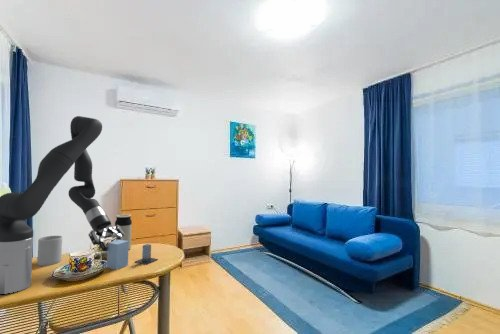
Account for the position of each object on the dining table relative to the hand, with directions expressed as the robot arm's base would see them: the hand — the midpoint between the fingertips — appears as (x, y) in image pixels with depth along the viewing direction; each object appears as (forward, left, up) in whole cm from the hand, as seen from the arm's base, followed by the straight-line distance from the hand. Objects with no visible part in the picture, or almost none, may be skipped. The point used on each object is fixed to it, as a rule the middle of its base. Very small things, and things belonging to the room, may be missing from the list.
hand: (115, 247), depth 110 cm
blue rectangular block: (0, -2, -8) cm, 8 cm away
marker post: (+9, -10, -8) cm, 15 cm away
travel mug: (+21, +13, -8) cm, 26 cm away
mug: (-3, +31, -8) cm, 32 cm away
